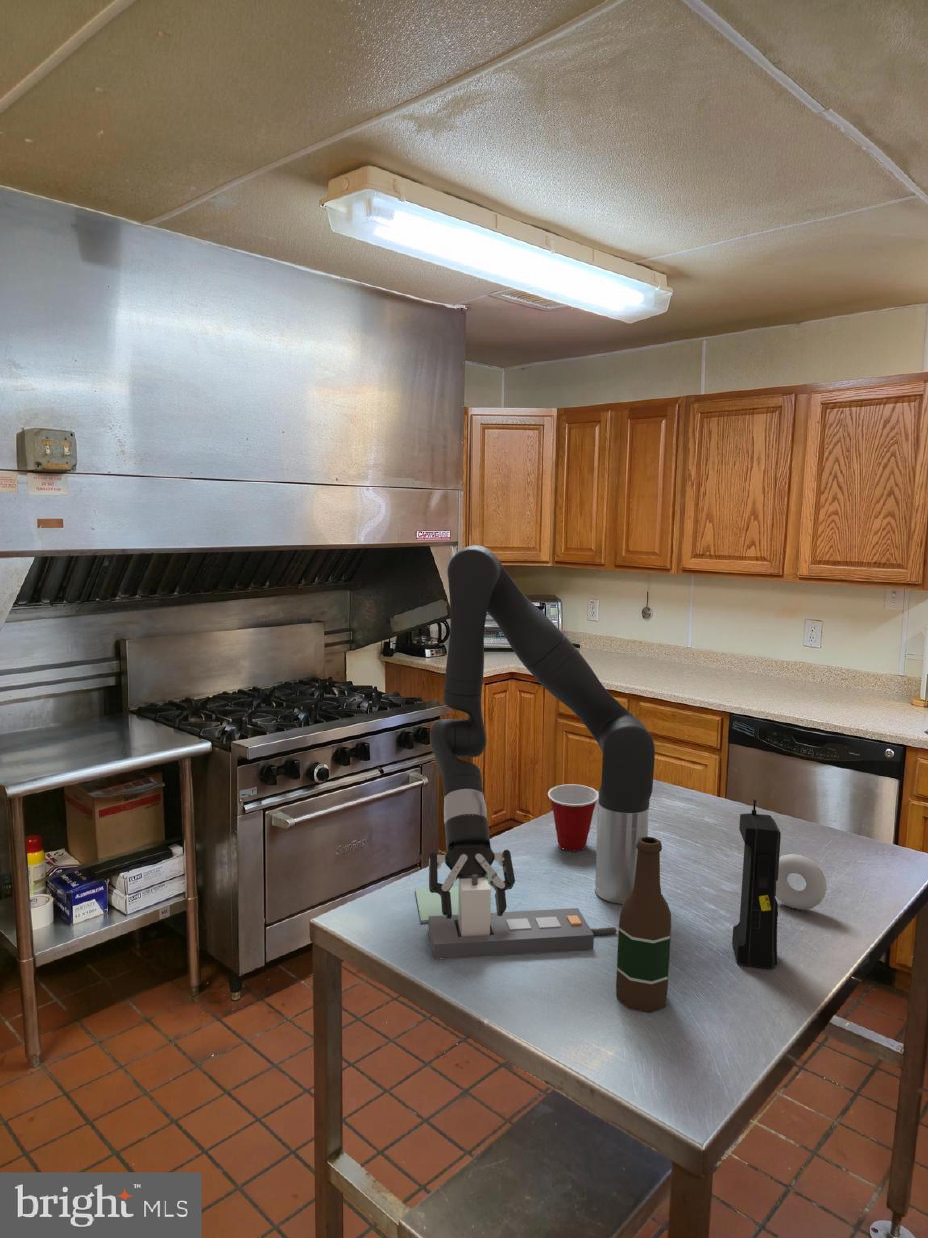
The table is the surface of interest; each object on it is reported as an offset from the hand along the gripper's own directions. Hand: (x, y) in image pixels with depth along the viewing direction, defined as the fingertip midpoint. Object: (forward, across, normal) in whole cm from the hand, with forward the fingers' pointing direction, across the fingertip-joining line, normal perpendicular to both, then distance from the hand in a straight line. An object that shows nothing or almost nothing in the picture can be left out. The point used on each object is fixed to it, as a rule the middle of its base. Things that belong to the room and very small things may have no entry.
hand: (475, 916), depth 127 cm
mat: (-6, -2, +14) cm, 15 cm away
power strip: (+3, +9, +5) cm, 10 cm away
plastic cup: (-23, +27, +30) cm, 46 cm away
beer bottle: (+16, +22, -8) cm, 28 cm away
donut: (-1, +60, +8) cm, 61 cm away
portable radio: (+10, +44, -2) cm, 45 cm away
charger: (+3, 0, +5) cm, 5 cm away
